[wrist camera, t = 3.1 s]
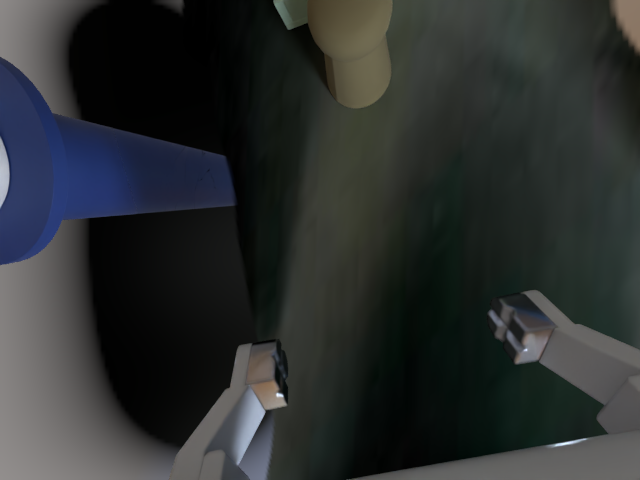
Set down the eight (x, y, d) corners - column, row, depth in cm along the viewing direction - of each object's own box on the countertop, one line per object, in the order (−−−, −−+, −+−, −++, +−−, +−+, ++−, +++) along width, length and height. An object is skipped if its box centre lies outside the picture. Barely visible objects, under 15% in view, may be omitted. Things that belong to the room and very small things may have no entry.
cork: (370, 23, 25) (366, -102, 14) (403, 82, 25) (423, 2, 15) (315, 66, 27) (274, -19, 16) (346, 121, 27) (327, 74, 16)
